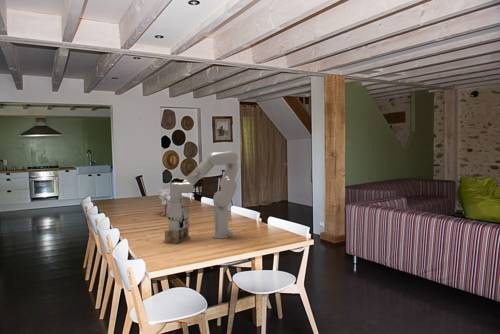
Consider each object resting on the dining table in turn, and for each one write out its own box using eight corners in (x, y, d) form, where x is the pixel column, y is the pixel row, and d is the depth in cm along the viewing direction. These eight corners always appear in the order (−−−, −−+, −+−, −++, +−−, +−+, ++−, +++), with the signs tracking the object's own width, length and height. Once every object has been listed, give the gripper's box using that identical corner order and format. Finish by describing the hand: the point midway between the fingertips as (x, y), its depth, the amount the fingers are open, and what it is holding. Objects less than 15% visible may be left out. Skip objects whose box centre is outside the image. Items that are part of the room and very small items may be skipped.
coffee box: (189, 226, 288) (188, 205, 287) (185, 228, 282) (185, 207, 281) (178, 225, 291) (178, 205, 290) (174, 227, 284) (174, 206, 283)
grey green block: (184, 227, 248) (184, 219, 248) (176, 231, 239) (176, 222, 239) (177, 227, 251) (177, 218, 250) (168, 230, 242) (168, 221, 241)
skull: (156, 214, 340) (155, 189, 339) (175, 212, 349) (175, 188, 348) (163, 218, 318) (162, 192, 317) (184, 216, 327) (183, 191, 326)
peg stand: (190, 238, 251) (189, 226, 251) (178, 244, 236) (177, 232, 236) (176, 236, 255) (176, 225, 254) (163, 242, 240) (163, 230, 239)
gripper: (190, 200, 244) (191, 227, 245) (168, 199, 250) (168, 225, 251) (184, 202, 237) (185, 229, 238) (161, 201, 243) (162, 227, 244)
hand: (177, 227), depth 245 cm, fingers closed on grey green block, 6 cm apart
